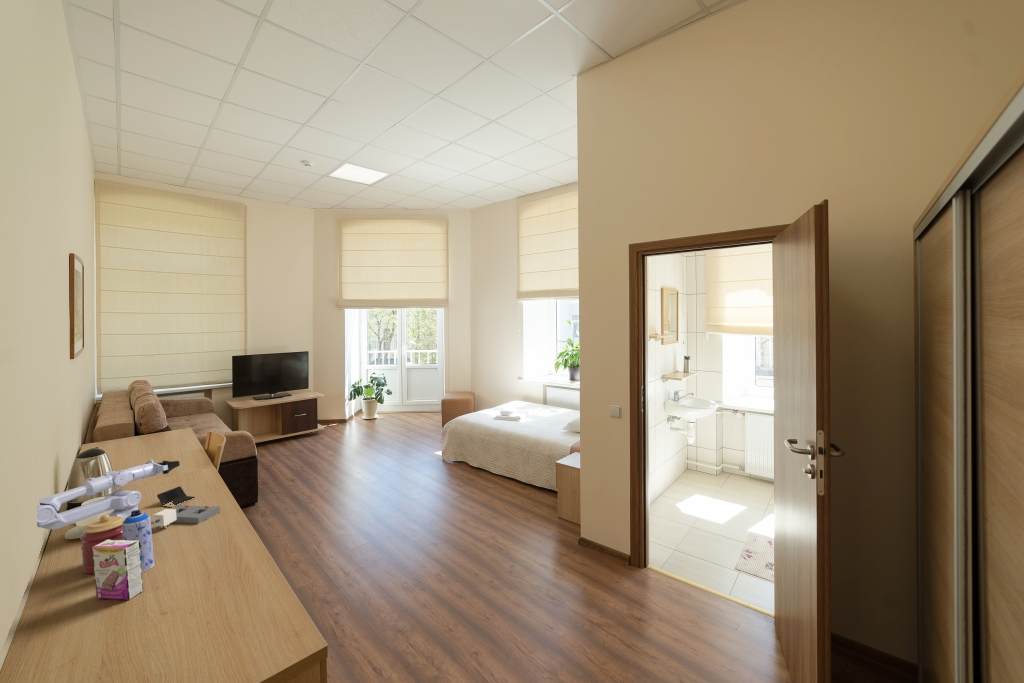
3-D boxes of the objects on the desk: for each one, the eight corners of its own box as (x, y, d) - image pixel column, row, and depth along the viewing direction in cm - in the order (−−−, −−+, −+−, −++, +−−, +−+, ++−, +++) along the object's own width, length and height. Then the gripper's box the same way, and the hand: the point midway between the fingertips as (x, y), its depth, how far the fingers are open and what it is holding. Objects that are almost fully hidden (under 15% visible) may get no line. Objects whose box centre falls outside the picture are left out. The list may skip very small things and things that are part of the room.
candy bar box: (95, 600, 135) (90, 547, 134) (111, 590, 140) (107, 538, 139) (129, 601, 134) (124, 547, 133) (144, 591, 139) (140, 539, 138)
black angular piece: (176, 504, 203) (165, 486, 205) (164, 514, 204) (153, 496, 205) (197, 497, 215) (186, 480, 216) (186, 507, 215) (175, 490, 217)
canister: (75, 569, 153) (71, 519, 152) (122, 551, 164) (118, 504, 163) (92, 578, 147) (88, 526, 146) (140, 559, 158) (136, 510, 157)
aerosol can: (119, 576, 147) (114, 517, 146) (132, 564, 155) (128, 507, 154) (147, 572, 149) (143, 513, 148) (159, 560, 157) (155, 504, 156)
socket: (198, 523, 186) (198, 516, 185) (157, 521, 189) (156, 514, 189) (220, 512, 196) (219, 505, 196) (180, 510, 200) (180, 503, 200)
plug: (161, 532, 179) (160, 516, 178) (151, 531, 180) (150, 516, 179) (177, 524, 185) (175, 509, 185) (167, 524, 186) (166, 508, 186)
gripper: (151, 461, 187) (183, 453, 200) (126, 464, 191) (159, 456, 204) (153, 478, 186) (185, 469, 199) (128, 480, 190) (161, 471, 203)
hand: (172, 463), depth 202 cm, fingers open, 7 cm apart
